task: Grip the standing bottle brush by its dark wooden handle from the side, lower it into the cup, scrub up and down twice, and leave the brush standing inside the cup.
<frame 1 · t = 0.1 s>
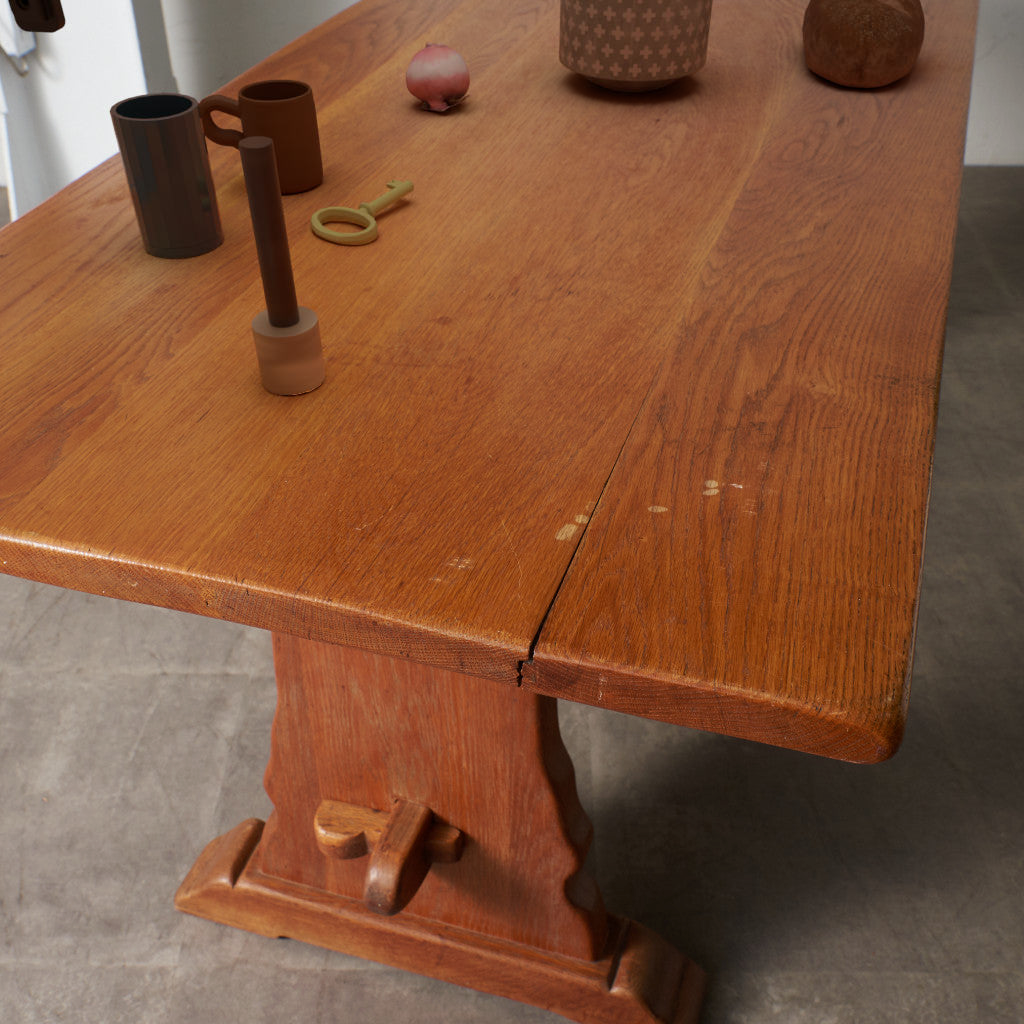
hand: (84, 8, 52), 28 cm above the table, tool pointing down, fingers open, 8 cm apart
cup: (184, 241, 96), on the table
key: (367, 223, 99), on the table
onion: (439, 108, 126), on the table
bread: (854, 62, 141), on the table
mug: (267, 184, 107), on the table
planter: (630, 84, 133), on the table
brush: (294, 378, 77), on the table
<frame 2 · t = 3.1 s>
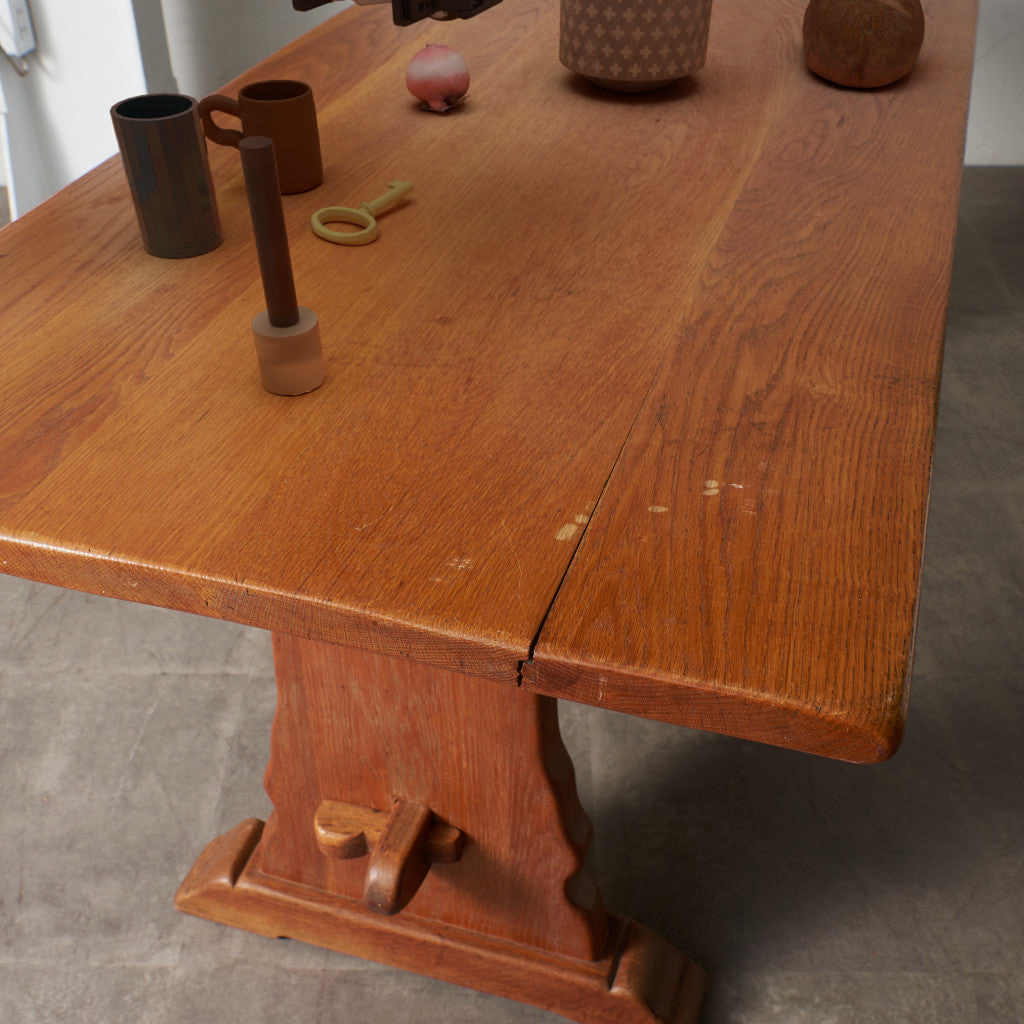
hand: (344, 2, 69), 24 cm above the table, tool horizontal, fingers open, 8 cm apart
nothing on the table moved.
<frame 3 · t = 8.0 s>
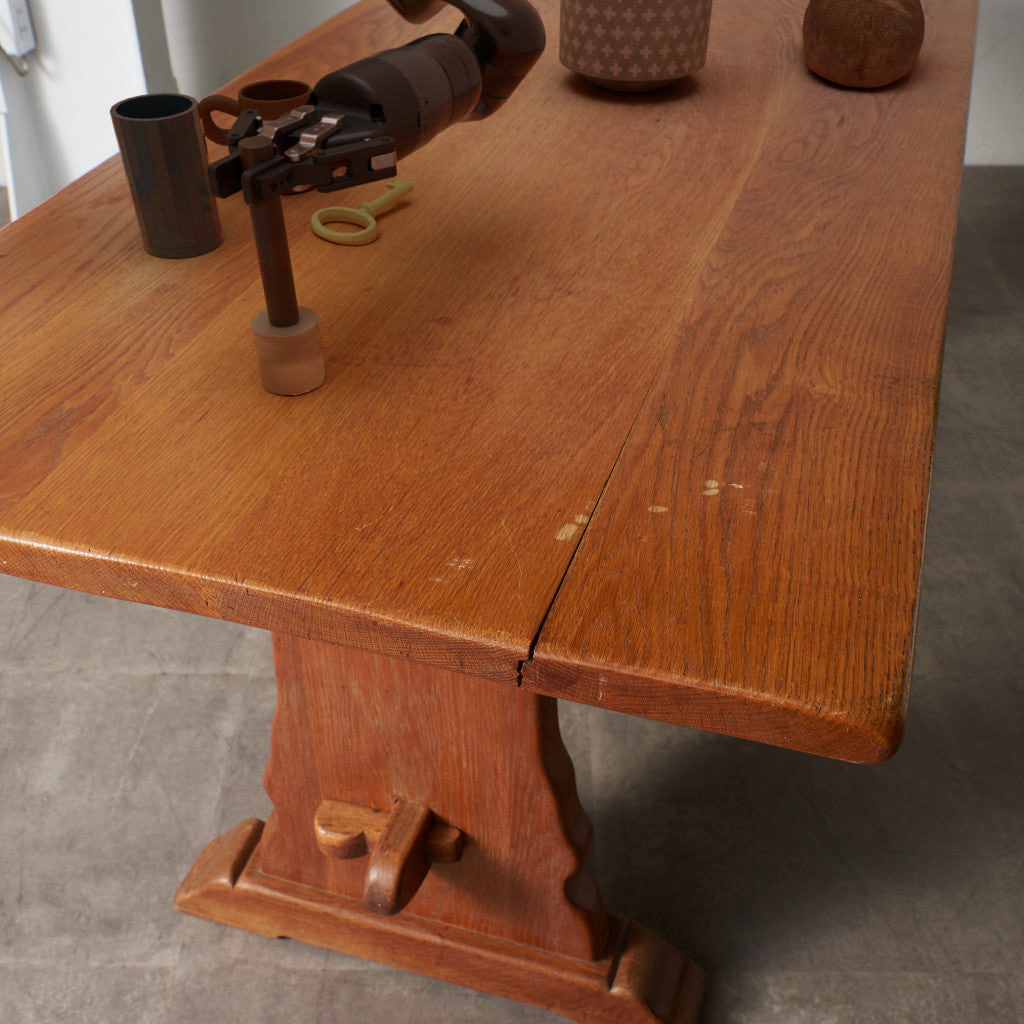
hand: (231, 187, 65), 16 cm above the table, tool horizontal, fingers closed on brush
brush: (294, 378, 77), on the table, touching gripper
everything else where it was.
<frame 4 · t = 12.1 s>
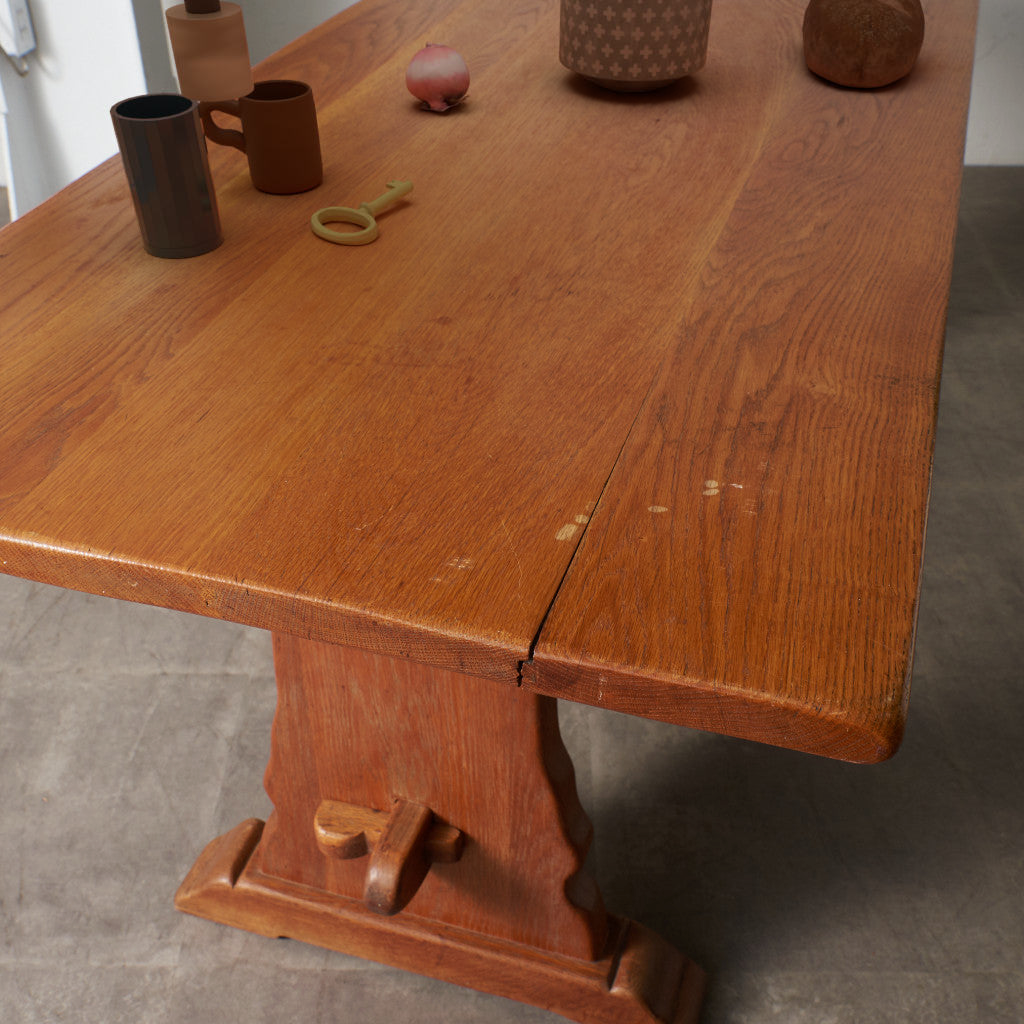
brush: (217, 90, 68), point 20 cm above the table, touching gripper
everything else where it was.
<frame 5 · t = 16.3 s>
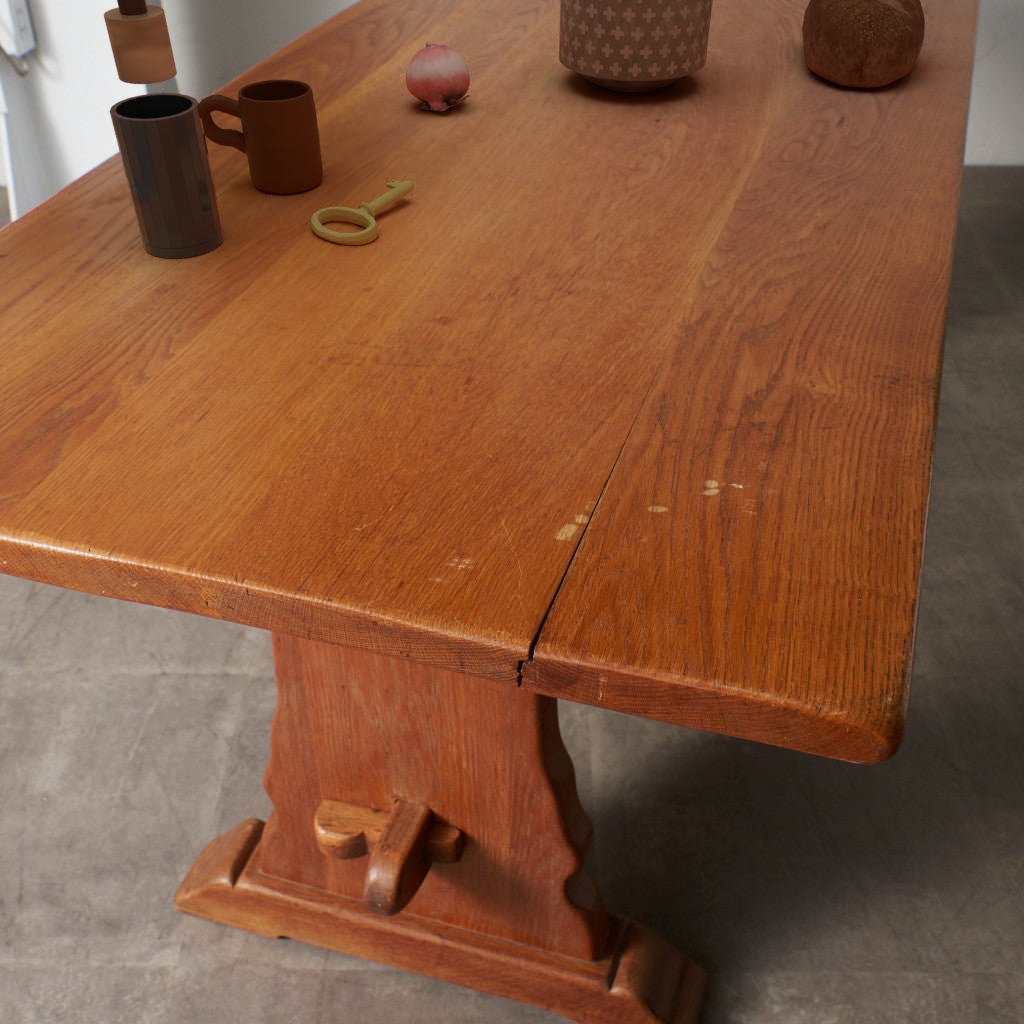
brush: (148, 75, 86), point 15 cm above the table, touching gripper
everything else where it was.
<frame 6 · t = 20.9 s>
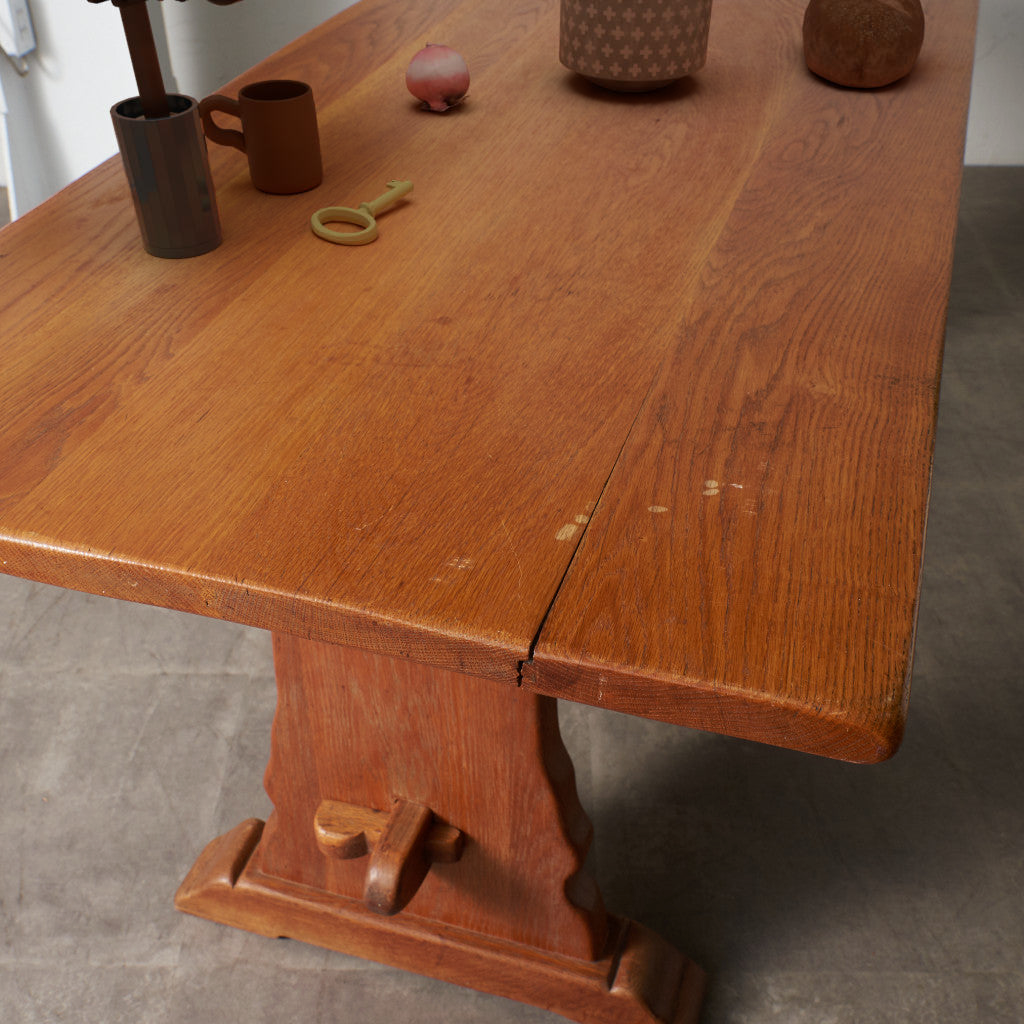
brush: (171, 176, 92), point 6 cm above the table, touching gripper
everything else where it was.
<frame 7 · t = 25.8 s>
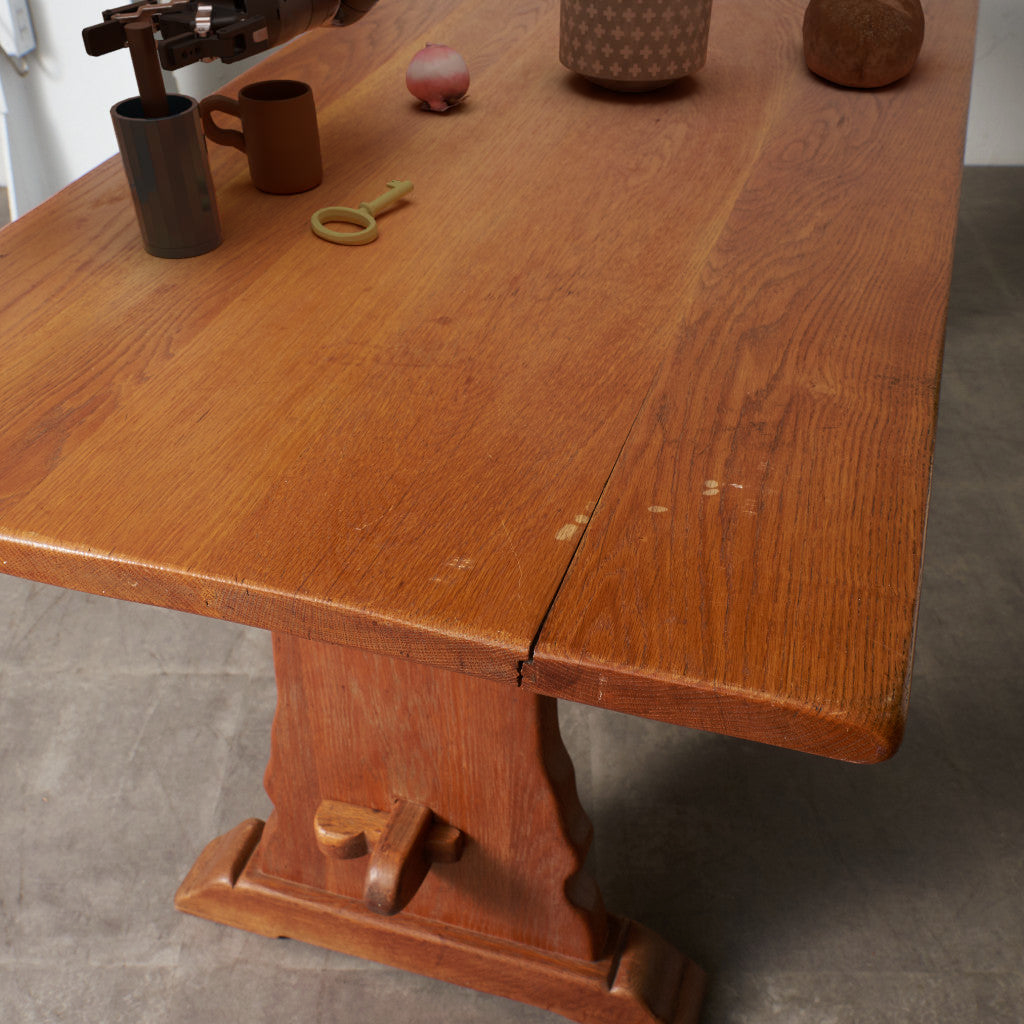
hand: (124, 50, 83), 17 cm above the table, tool horizontal, fingers open, 8 cm apart
brush: (183, 230, 95), point 1 cm above the table, touching cup
everything else where it was.
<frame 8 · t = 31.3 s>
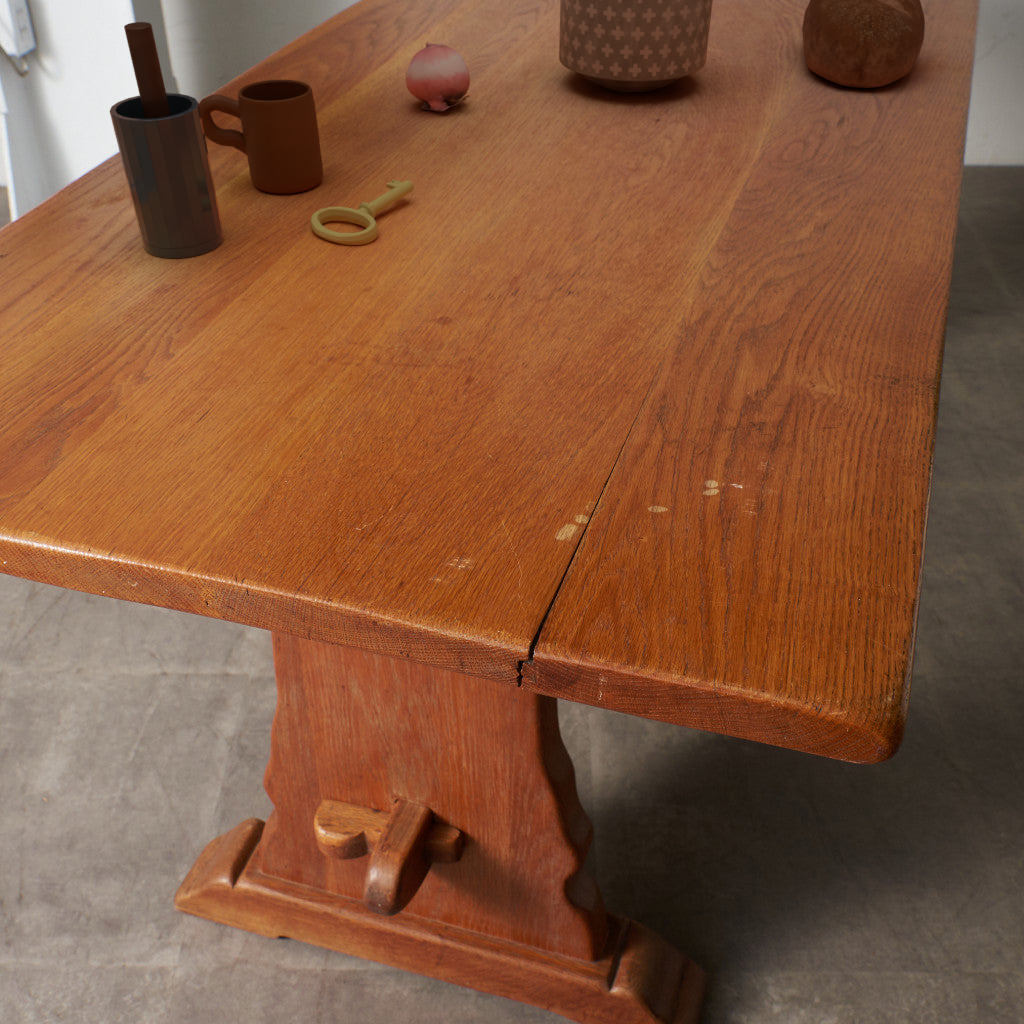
nothing on the table moved.
at the end: brush 0.2 cm off-centre in the cup, point 1.0 cm above the cup's base; the gripper is holding nothing; brush moved 28.6 cm from its start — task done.
